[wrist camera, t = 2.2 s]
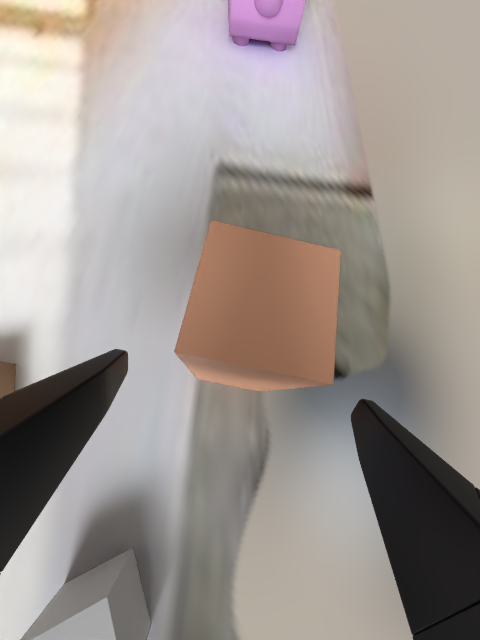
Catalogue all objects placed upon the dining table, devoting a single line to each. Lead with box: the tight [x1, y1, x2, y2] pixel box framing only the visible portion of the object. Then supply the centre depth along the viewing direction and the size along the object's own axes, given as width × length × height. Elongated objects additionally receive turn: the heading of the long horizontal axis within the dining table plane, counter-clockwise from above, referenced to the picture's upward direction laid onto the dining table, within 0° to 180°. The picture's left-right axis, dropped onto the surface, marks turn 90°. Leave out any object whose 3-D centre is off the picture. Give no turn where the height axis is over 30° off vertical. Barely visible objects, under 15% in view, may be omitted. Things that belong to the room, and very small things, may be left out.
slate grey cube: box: [21, 547, 151, 640], centre depth 12 cm, size 4×4×4 cm
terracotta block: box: [174, 220, 341, 391], centre depth 14 cm, size 5×5×12 cm
